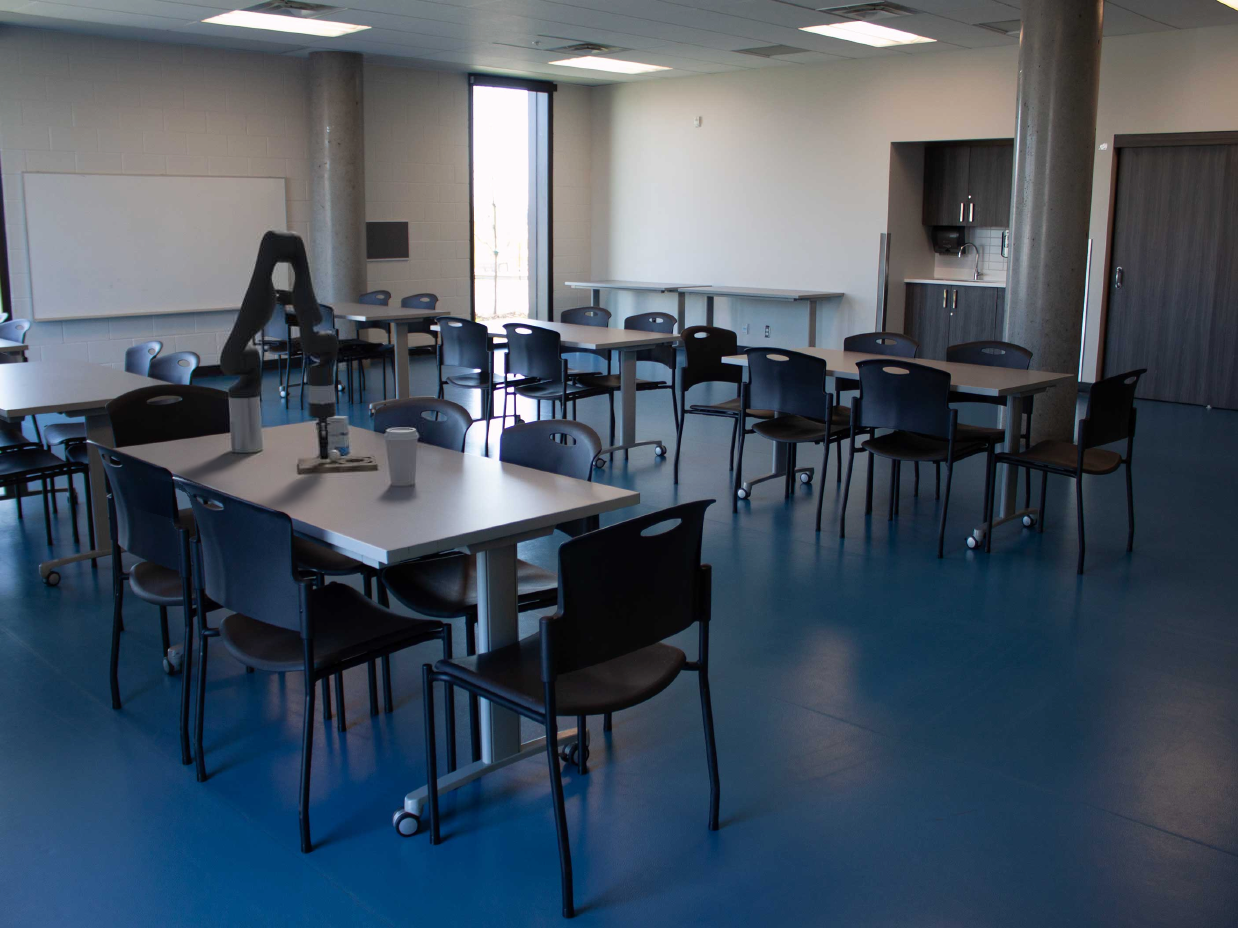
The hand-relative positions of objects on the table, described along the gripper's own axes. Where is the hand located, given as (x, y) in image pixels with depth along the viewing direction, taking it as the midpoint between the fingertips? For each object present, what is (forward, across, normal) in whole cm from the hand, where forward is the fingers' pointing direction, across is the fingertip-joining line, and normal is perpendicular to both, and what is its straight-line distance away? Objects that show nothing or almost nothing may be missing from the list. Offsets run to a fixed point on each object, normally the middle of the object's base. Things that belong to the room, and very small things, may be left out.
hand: (324, 458), depth 319 cm
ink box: (+3, -21, +4) cm, 21 cm away
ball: (-1, 0, +3) cm, 3 cm away
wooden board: (+2, 0, +4) cm, 4 cm away
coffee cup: (+2, +28, +20) cm, 35 cm away
